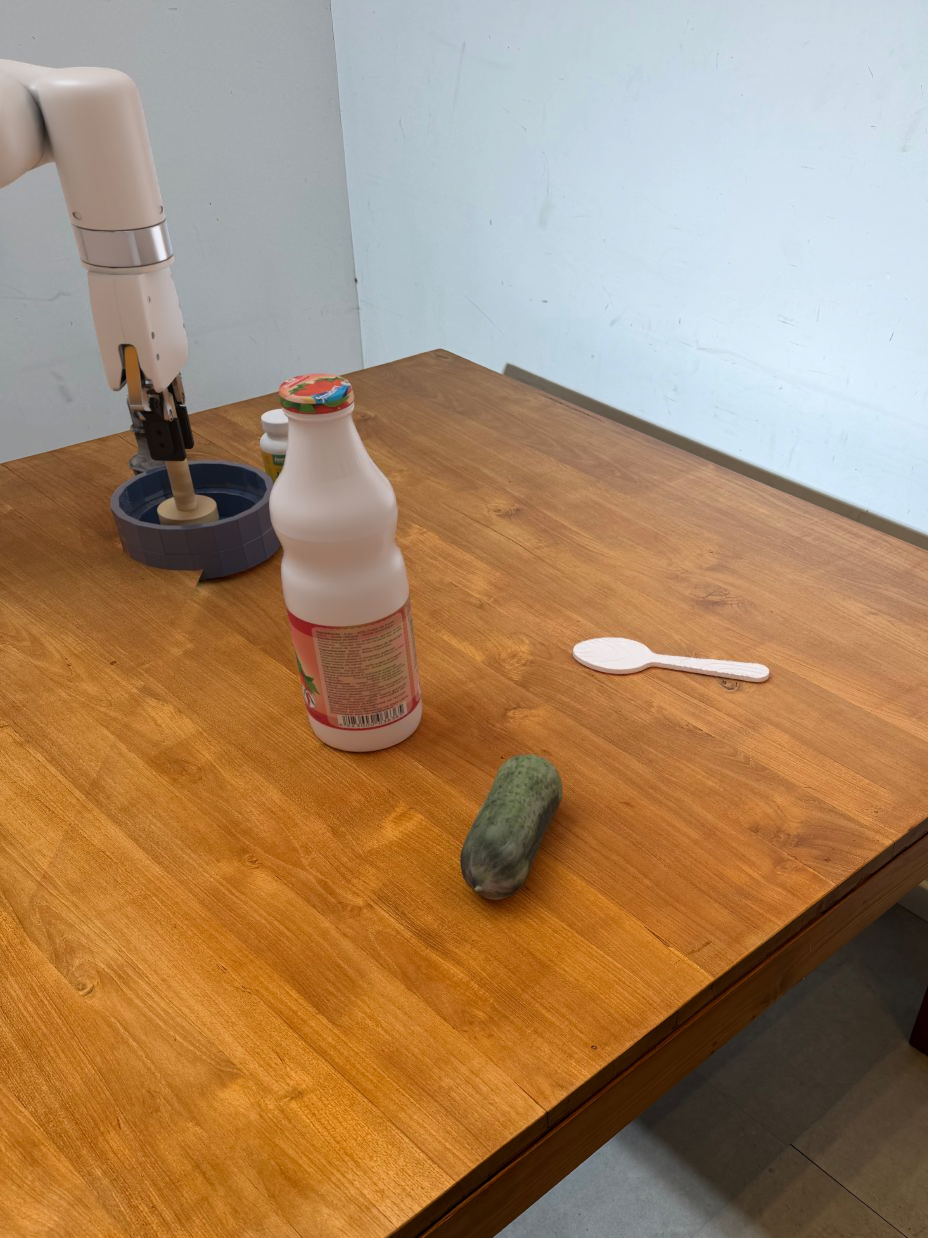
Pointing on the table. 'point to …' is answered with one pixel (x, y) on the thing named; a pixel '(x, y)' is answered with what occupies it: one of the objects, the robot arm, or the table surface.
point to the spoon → (657, 660)
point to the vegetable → (510, 826)
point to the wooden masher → (184, 495)
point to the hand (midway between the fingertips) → (173, 452)
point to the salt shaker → (141, 447)
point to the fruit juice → (343, 574)
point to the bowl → (206, 546)
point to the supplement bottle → (274, 442)
